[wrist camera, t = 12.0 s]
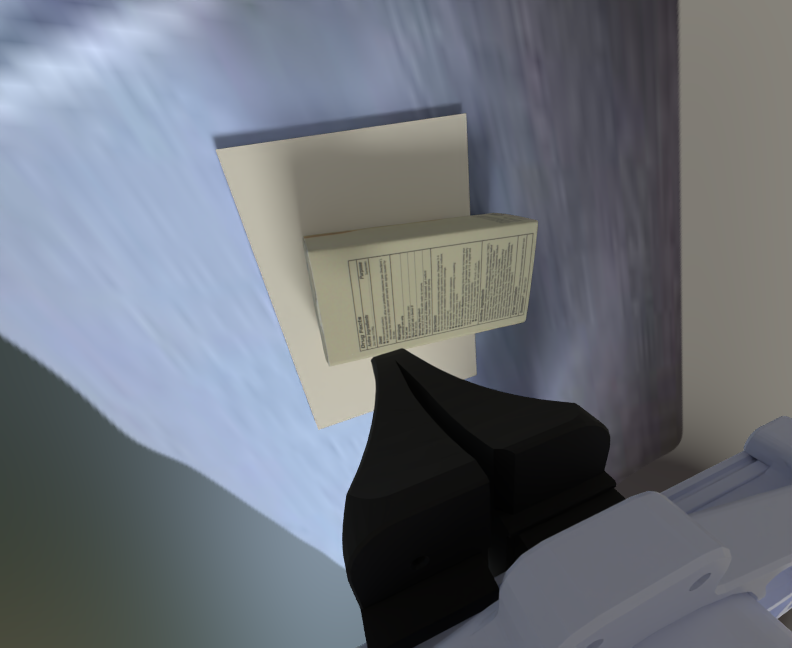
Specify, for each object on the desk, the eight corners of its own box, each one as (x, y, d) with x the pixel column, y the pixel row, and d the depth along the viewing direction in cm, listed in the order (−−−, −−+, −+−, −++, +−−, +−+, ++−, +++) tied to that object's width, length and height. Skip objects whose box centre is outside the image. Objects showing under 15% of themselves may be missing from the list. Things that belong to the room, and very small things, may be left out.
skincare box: (495, 211, 20) (299, 228, 17) (543, 219, 16) (303, 242, 13) (486, 304, 23) (317, 333, 20) (526, 328, 19) (325, 370, 16)
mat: (473, 371, 26) (476, 375, 25) (317, 425, 23) (318, 429, 23) (461, 114, 18) (466, 113, 17) (217, 150, 15) (215, 149, 14)
